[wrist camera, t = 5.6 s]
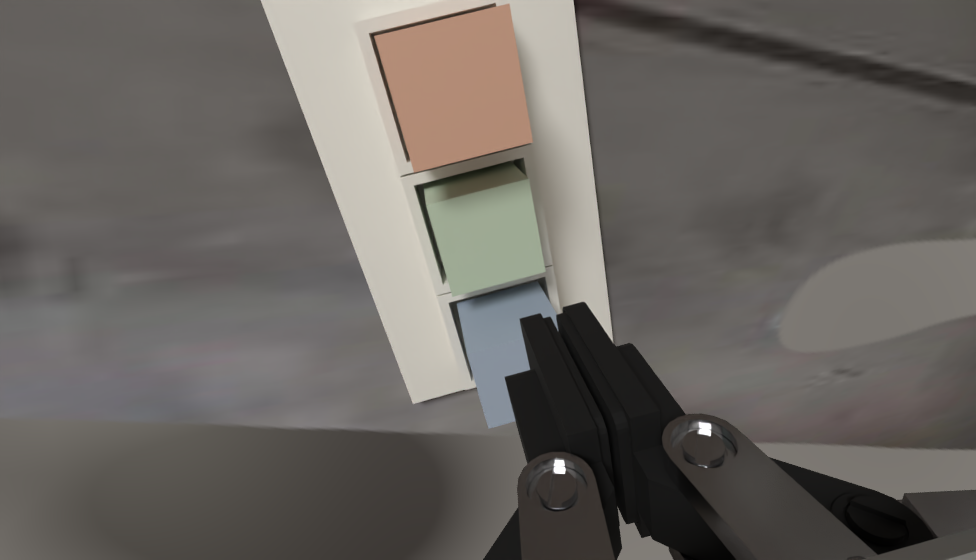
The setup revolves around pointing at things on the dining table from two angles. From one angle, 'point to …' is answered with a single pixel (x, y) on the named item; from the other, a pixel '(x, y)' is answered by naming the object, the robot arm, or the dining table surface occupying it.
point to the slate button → (499, 343)
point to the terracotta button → (457, 87)
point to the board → (442, 168)
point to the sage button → (485, 227)
